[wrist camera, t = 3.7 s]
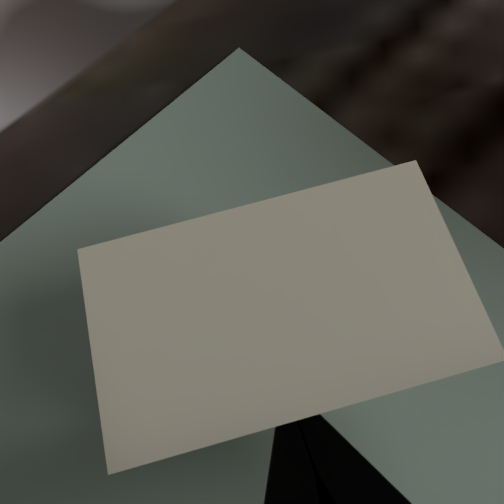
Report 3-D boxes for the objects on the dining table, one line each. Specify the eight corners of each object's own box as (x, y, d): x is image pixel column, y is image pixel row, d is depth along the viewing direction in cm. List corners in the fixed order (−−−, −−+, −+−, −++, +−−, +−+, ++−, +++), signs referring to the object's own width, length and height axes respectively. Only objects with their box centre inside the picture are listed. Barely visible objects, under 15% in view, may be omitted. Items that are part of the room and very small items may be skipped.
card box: (371, 381, 15) (507, 359, 6) (204, 429, 14) (108, 474, 6) (338, 287, 16) (416, 160, 7) (183, 330, 16) (77, 249, 7)
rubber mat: (630, 354, 15) (641, 353, 15) (173, 990, 11) (168, 1018, 10) (239, 55, 20) (239, 47, 20) (-176, 397, 16) (-190, 397, 15)
